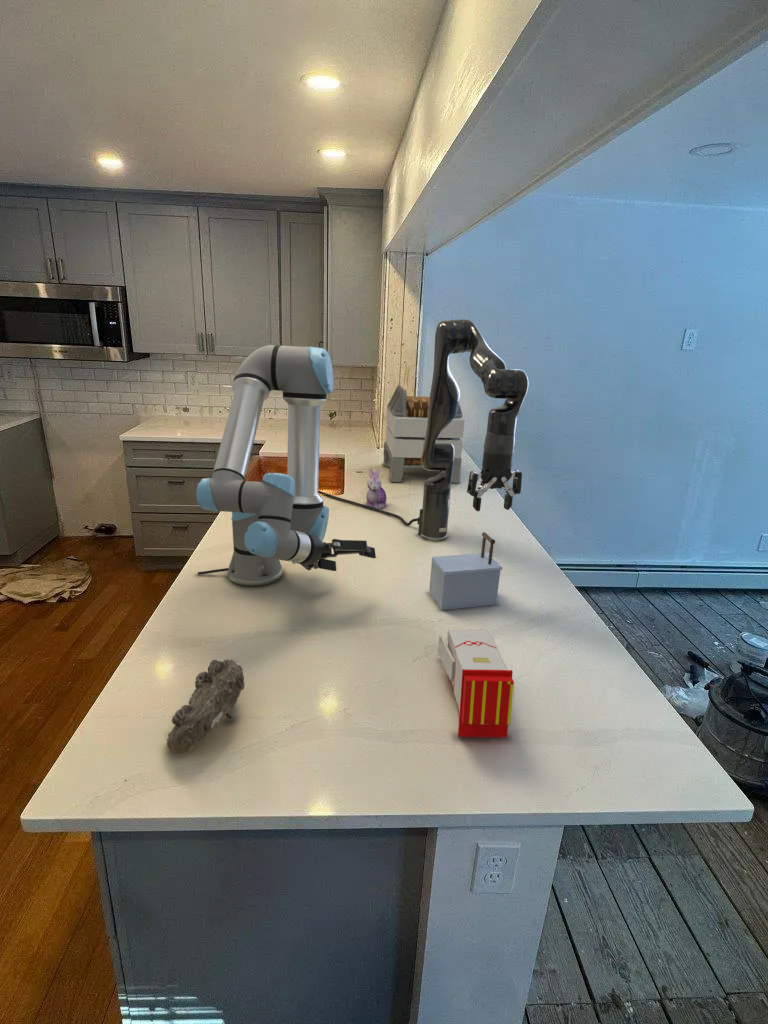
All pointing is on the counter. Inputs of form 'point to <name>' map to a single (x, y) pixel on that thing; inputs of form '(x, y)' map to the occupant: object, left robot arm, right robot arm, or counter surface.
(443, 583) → the chest
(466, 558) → the lid
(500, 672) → the toy
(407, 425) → the grey slatted crate
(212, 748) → the counter surface
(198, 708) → the fossil
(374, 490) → the figurine
